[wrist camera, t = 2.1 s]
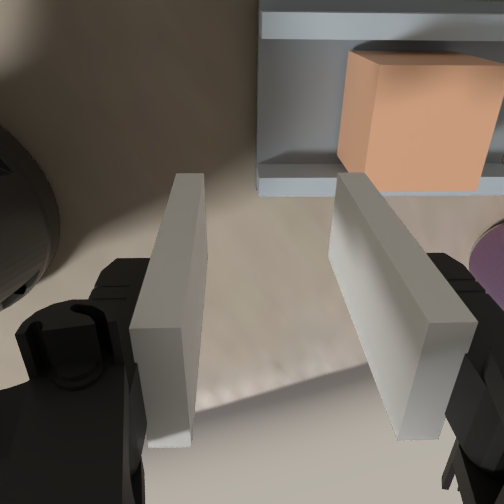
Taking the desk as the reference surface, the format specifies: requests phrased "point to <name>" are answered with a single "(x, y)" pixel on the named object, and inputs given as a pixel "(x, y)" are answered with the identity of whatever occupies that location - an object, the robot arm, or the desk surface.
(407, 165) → the block
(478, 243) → the beverage can
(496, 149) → the chute
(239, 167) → the desk surface
